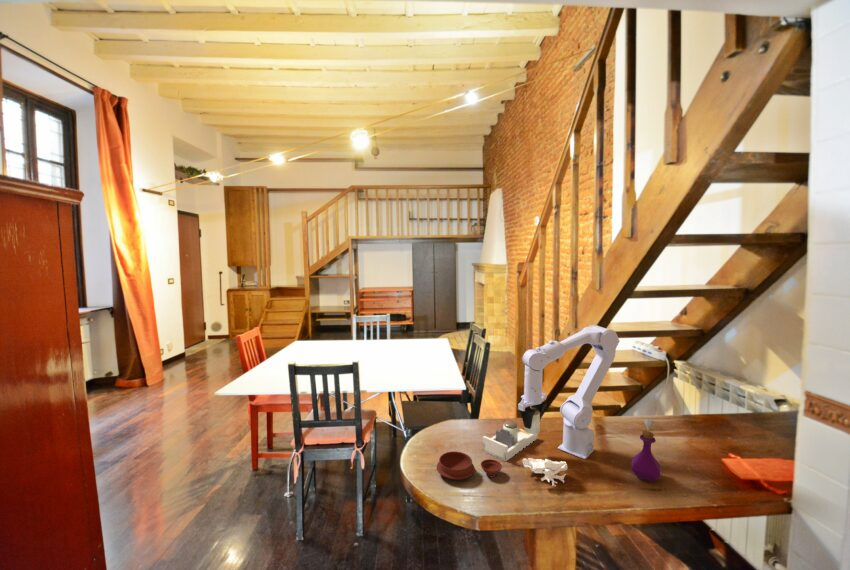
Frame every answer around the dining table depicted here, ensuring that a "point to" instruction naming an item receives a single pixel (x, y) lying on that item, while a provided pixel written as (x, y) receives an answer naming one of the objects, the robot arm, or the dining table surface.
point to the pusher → (505, 437)
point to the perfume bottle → (646, 457)
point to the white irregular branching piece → (546, 468)
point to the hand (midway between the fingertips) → (531, 425)
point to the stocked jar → (512, 429)
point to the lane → (502, 450)
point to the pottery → (464, 466)
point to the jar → (534, 423)
